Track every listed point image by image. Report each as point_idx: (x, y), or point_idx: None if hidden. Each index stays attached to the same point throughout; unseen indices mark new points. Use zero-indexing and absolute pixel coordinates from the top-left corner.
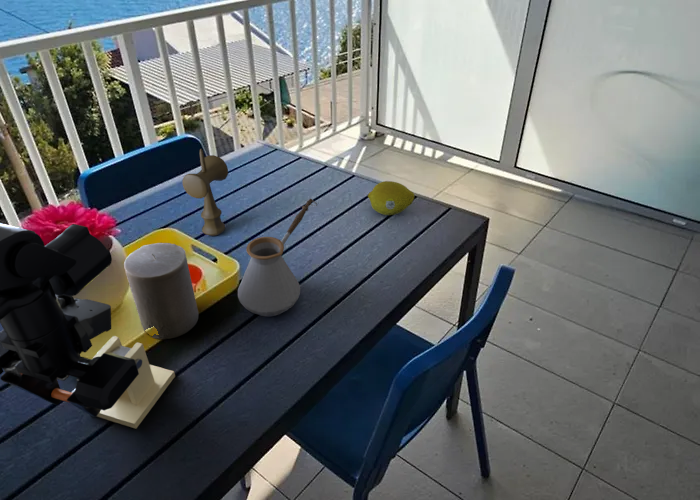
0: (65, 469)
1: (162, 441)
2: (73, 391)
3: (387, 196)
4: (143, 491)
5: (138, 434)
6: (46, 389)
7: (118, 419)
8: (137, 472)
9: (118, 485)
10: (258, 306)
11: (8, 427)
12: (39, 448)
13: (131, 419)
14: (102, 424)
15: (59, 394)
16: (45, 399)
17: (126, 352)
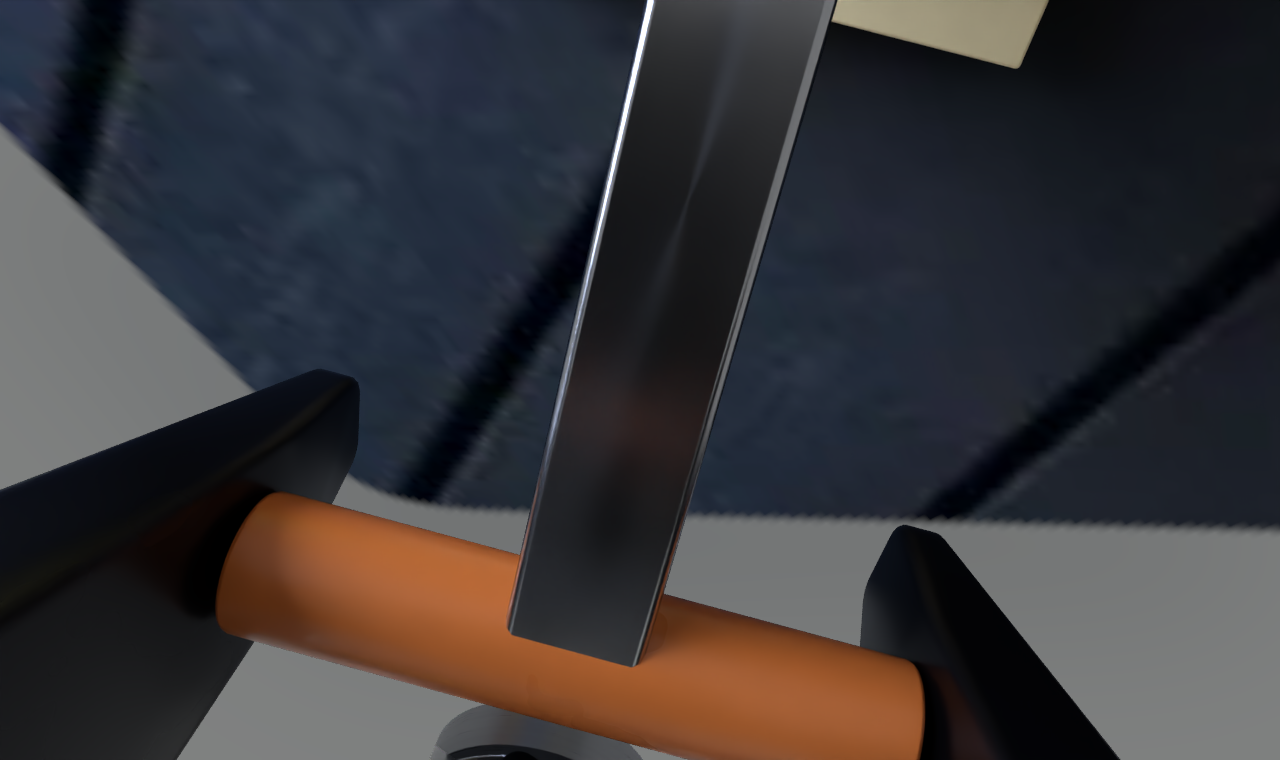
0: None
1: (1273, 162)
2: (533, 611)
3: None
4: (1156, 513)
5: (1034, 106)
6: (132, 717)
7: (837, 20)
8: (1091, 405)
9: (977, 478)
10: None
11: (3, 108)
12: (334, 257)
13: (975, 18)
14: None
15: (364, 670)
16: (228, 675)
17: None
